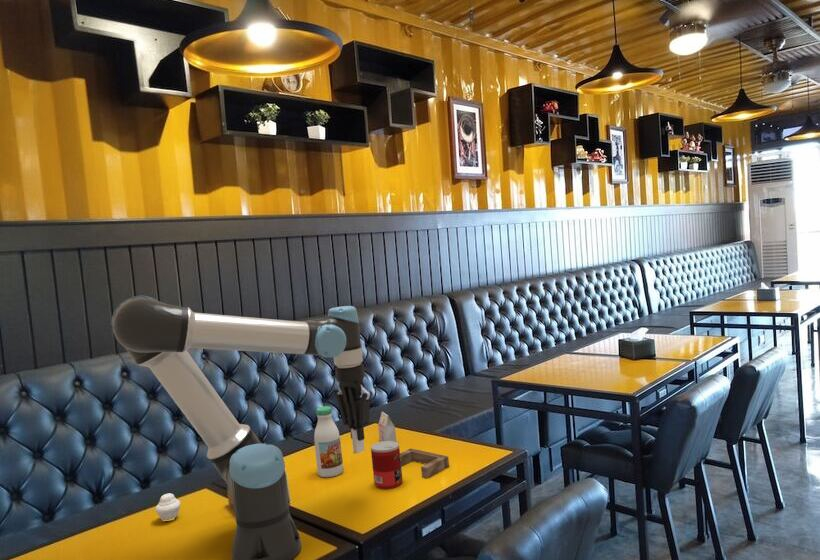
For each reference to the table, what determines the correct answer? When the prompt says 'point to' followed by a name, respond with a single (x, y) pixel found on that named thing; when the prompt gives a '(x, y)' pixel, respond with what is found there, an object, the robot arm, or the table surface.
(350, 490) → the table surface
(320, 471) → the milk bottle
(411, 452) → the wooden u-shaped frame
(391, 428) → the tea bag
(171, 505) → the muffin
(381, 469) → the canned food
